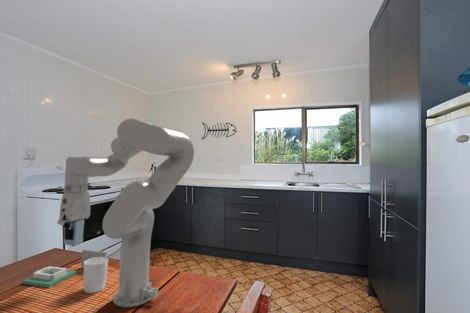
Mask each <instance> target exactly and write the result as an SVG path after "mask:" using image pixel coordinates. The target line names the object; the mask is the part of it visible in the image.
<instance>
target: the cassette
mask: <svg viewBox="0 0 470 313" xmlns="http://www.w3.org/2000/svg"><path fill="white" fill-rule="evenodd" d="M107 254H108V253H107V252H106V251H100V250H99V251H98V250H93V249H92V250H91V249H82V250H81V266H80V267H84V261H86V260H88V259H91V258H95V257H106V258H108V257H107Z"/></svg>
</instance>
